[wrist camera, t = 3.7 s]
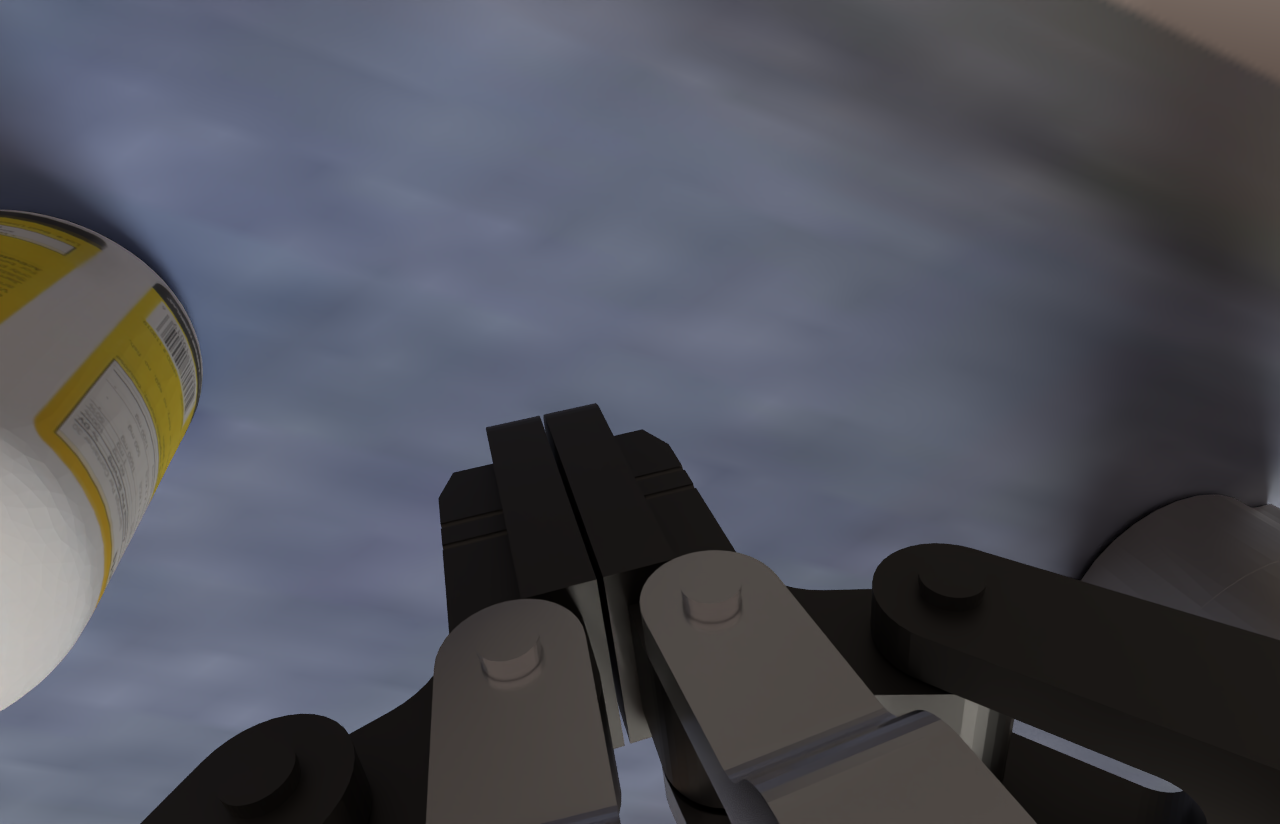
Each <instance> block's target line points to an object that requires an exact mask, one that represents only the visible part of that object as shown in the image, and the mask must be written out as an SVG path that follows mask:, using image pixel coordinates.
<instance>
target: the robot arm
mask: <svg viewBox="0 0 1280 824" xmlns="http://www.w3.org/2000/svg"><path fill="white" fill-rule="evenodd" d="M544 425H545V430H544V427H543V424H542V421H541V418H540V416H536V417H532V418H527V419H522V420H518V421H513V422H509V423H504V424H500V425H495V426H491V427H486V431H487V436H488V441H489V446H490V451H491V455H492V460H493V464H490V465H485V466H481V467H476V468H472V469H468V470H463V471H459V472H454V473H453V474H452V476H451V478H450V479H449V481H448V483H447V485H446V486H445V488H444V490H443V491H442V493H441V495H440V497H439V509H440V522H441V527H442V529H441V535H442V546H443V560H444V573H445V585H446V598H447V611H448V623H449V635H448V636H447V637H446V639H445V640H444V642H443V644H442V645H441V647H440V648H439V651H438V654H437V656H436V659H435V665H434V675H433V677H432V678H431V679H430V680H429V681H428V683H427V684H426V685H425V686H424V687H423V688H422V689H420V690H419V691H418V692H417V693H416V694H415V695H414V696H412V697H411V698H410V699H409V700H407V701H406V702H405V703H403V704H402V705H400V706H398V707H397V708H395V709H394V710H392V711H390V712H389V713H387V714H385V715H383V716H381V717H380V718H378V719H376V720H374V721H372V722H371V723H369V724H367V725H365V726H363V727H361V728H360V729H358V730H356V731H354V732H352V733H351V734H348V733H347V731H346V730H345V729H344V727H342V726H341V725H340V724H339V723H337V722H336V721H334V720H332V719H329V718H327V717H324V716H320V715H315V714H295V715H287V716H282V717H278V718H274V719H271V720H268V721H265V722H263V723H260V724H257V725H255V726H253V727H251V728H249V729H247V730H245V731H243V732H241V733H239V734H238V735H236V736H235V737H233V738H231V739H230V740H228V741H227V742H225V743H224V744H223V745H221V746H220V747H219V748H217V749H216V750H215V751H213V752H212V753H211V754H210V755H209V756H208V757H207V758H206V759H205V760H204V761H202V762H201V763H200V764H199V765H198V766H197V767H196V768H195V769H194V770H193V771H192V772H191V773H190V774H189V775H188V776H187V777H186V778H185V779H184V780H183V781H182V782H181V783H180V784H179V785H178V786H177V787H176V788H175V789H174V790H173V791H172V792H171V793H170V794H169V795H168V796H167V797H166V798H165V799H164V800H163V801H162V802H161V803H160V805H159V806H158V807H157V808H156V809H155V810H154V811H153V812H152V813H151V814H150V815H149V816H148V817H147V818H146V819H145V820H144V821H143V822H142V823H141V824H621V823H620V818H619V811H620V807H621V789H620V783H619V778H618V772H617V766H616V761H615V755H614V750H613V749H615V748H618V747H622V746H625V745H624V739H623V733H622V727H621V722H620V716H619V710H618V706H619V709H620V712H621V715H622V718H623V722H624V725H625V728H626V731H627V734H628V737H629V741H630V743H634V742H637V741H640V740H643V739H647V738H650V737H652V738H653V741H654V744H655V747H656V749H657V752H658V755H659V758H660V761H661V764H662V769H663V776H664V784H665V791H666V798H667V801H668V804H669V807H670V810H671V812H672V814H673V816H674V819H675V821H676V823H677V824H1280V509H1279V508H1277V507H1276V506H1274V505H1272V504H1268V505H1264V506H1260V507H1253V508H1251V507H1249V506H1247V505H1246V504H1244V503H1242V502H1240V501H1239V500H1237V499H1235V498H1233V497H1228V496H1223V495H1219V494H1214V495H1198V496H1194V497H1190V498H1186V499H1183V500H1179V501H1176V502H1174V503H1172V504H1169V505H1167V506H1165V507H1163V508H1160V509H1158V510H1156V511H1154V512H1153V513H1151V514H1149V515H1148V516H1146V517H1145V518H1143V519H1141V520H1140V521H1138V522H1137V523H1135V524H1134V525H1132V526H1131V527H1130V528H1129V529H1127V530H1126V531H1125V532H1124V533H1123V534H1121V535H1120V536H1119V537H1118V538H1117V539H1115V540H1114V541H1113V542H1112V543H1111V544H1110V545H1109V546H1108V547H1107V548H1106V549H1105V551H1104V552H1103V553H1102V554H1101V555H1100V556H1099V557H1098V558H1097V559H1096V560H1095V561H1094V563H1093V564H1092V566H1091V567H1090V568H1089V570H1088V571H1087V573H1086V574H1085V575H1084V577H1083V578H1082V579H1081V581H1080V580H1076V579H1073V578H1069V577H1066V576H1063V575H1059V574H1056V573H1053V572H1049V571H1046V570H1043V569H1039V568H1036V567H1033V566H1029V565H1026V564H1022V563H1019V562H1016V561H1012V560H1009V559H1006V558H1002V557H999V556H996V555H992V554H989V553H986V552H982V551H979V550H975V549H972V548H968V547H964V546H959V545H952V544H938V543H932V544H920V545H915V546H910V547H907V548H904V549H901V550H898V551H896V552H894V553H892V554H891V555H889V556H888V557H887V558H885V559H884V560H883V561H882V562H881V563H880V564H879V566H878V567H877V569H876V571H875V573H874V576H873V581H872V589H857V590H806V589H798V588H793V587H788V586H785V585H784V584H783V582H782V581H781V580H780V579H779V577H778V576H777V575H776V574H775V573H774V572H773V571H772V570H771V569H770V568H769V567H768V566H766V565H765V564H763V563H762V562H760V561H758V560H756V559H754V558H752V557H750V556H747V555H744V554H741V553H736V551H735V550H734V548H733V546H732V545H731V543H730V542H729V540H728V538H727V537H726V535H725V534H724V532H723V530H722V529H721V527H720V526H719V524H718V522H717V521H716V519H715V518H714V516H713V514H712V513H711V511H710V510H709V508H708V506H707V505H706V503H705V502H704V500H703V498H702V497H701V495H700V494H699V492H698V490H697V489H696V488H694V486H693V482H692V481H691V479H690V478H689V476H688V474H687V473H686V471H685V470H683V468H682V465H681V463H680V462H679V460H678V458H677V457H676V455H675V454H674V452H673V450H672V449H671V447H670V446H669V444H667V443H665V442H664V441H662V440H660V439H658V438H657V437H655V436H653V435H651V434H650V433H648V432H646V431H644V430H638V431H634V432H629V433H625V434H620V435H616V436H613V434H612V432H611V430H610V428H609V426H608V424H607V422H606V420H605V418H604V416H603V414H602V412H601V410H600V408H599V406H598V405H597V404H596V403H595V404H590V405H586V406H581V407H576V408H572V409H567V410H563V411H558V412H554V413H549V414H545V415H544ZM545 431H546V433H545ZM617 703H618V704H617ZM1014 719H1016V720H1019V721H1021V722H1024V723H1026V724H1028V725H1031V726H1033V727H1036V728H1038V729H1041V730H1043V731H1046V732H1048V733H1051V734H1053V735H1056V736H1058V737H1061V738H1063V739H1066V740H1068V741H1071V742H1073V743H1075V744H1078V745H1080V746H1083V747H1085V748H1088V749H1090V750H1093V751H1095V752H1098V753H1100V754H1103V755H1105V756H1108V757H1110V758H1113V759H1115V760H1118V761H1120V762H1122V763H1125V764H1127V765H1130V766H1132V767H1135V768H1137V769H1140V770H1142V771H1145V772H1147V773H1150V774H1152V775H1155V776H1157V777H1160V778H1162V779H1164V780H1166V781H1168V782H1170V783H1172V784H1174V785H1175V786H1177V787H1179V788H1180V789H1182V790H1183V791H1182V792H1175V793H1166V792H1159V791H1155V790H1151V789H1148V788H1146V787H1143V786H1141V785H1138V784H1136V783H1133V782H1131V781H1128V780H1126V779H1124V778H1121V777H1119V776H1116V775H1114V774H1112V773H1109V772H1107V771H1104V770H1102V769H1099V768H1097V767H1095V766H1092V765H1090V764H1087V763H1085V762H1083V761H1080V760H1078V759H1075V758H1073V757H1070V756H1068V755H1066V754H1063V753H1061V752H1058V751H1056V750H1054V749H1051V748H1049V747H1046V746H1044V745H1041V744H1039V743H1037V742H1034V741H1032V740H1029V739H1027V738H1025V737H1022V736H1020V735H1017V734H1015V733H1012V728H1013V722H1014Z"/></svg>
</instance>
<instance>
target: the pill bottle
mask: <svg viewBox="0 0 1280 824" xmlns="http://www.w3.org/2000/svg"><path fill="white" fill-rule="evenodd" d="M202 377H203V370H202V356H201V352H200V347H199V342H198V339H197V336H196V333H195V330H194V328H193V325H192V323H191V321H190V319H189V317H188V315H187V313H186V311H185V309H184V307H183V305H182V304H181V303H180V301H179V300H178V298H177V297H176V295H175V294H174V293H173V291H172V290H171V289H170V288H169V287H168V285H167V284H166V283H165V282H164V281H163V280H162V279H161V278H160V277H159V276H158V275H157V274H156V273H155V272H154V271H153V270H152V269H151V268H150V267H149V266H148V265H147V264H145V263H144V262H143V261H142V260H141V259H139V258H138V257H136V256H135V255H134V254H132V253H131V252H130V251H128V250H127V249H125V248H123V247H122V246H120V245H119V244H117V243H115V242H114V241H112V240H110V239H108V238H106V237H104V236H103V235H101V234H99V233H97V232H94V231H92V230H90V229H87V228H85V227H83V226H80V225H77V224H74V223H72V222H69V221H66V220H62V219H59V218H55V217H51V216H46V215H42V214H37V213H31V212H24V211H16V210H0V711H1V710H3V709H5V708H7V707H8V706H10V705H11V704H13V703H14V702H16V701H17V700H18V699H20V698H21V697H22V696H24V695H25V694H26V693H28V692H29V691H30V690H32V689H33V688H34V687H35V686H37V685H38V684H39V683H40V682H41V681H42V680H43V679H44V678H45V677H46V676H48V675H49V674H50V673H51V671H52V670H53V669H54V668H55V667H56V666H57V665H58V664H59V663H60V662H61V661H62V660H63V658H64V657H65V656H66V655H67V653H68V652H69V651H70V650H71V648H72V647H73V645H74V644H75V642H76V641H77V639H78V638H79V636H80V634H81V633H82V631H83V629H84V628H85V626H86V624H87V623H88V621H89V619H90V617H91V616H92V614H93V612H94V610H95V608H96V606H97V604H98V602H99V600H100V598H101V597H102V595H103V593H104V591H105V589H106V586H107V585H108V583H109V581H110V579H111V577H112V575H113V573H114V571H115V569H116V567H117V565H118V563H119V561H120V560H121V558H122V556H123V554H124V552H125V550H126V548H127V546H128V544H129V542H130V540H131V538H132V536H133V534H134V532H135V531H136V529H137V527H138V525H139V523H140V521H141V519H142V517H143V515H144V513H145V511H146V509H147V507H148V505H149V503H150V501H151V499H152V497H153V495H154V493H155V491H156V489H157V487H158V485H159V483H160V481H161V479H162V477H163V475H164V473H165V471H166V469H167V467H168V465H169V463H170V461H171V459H172V457H173V456H174V454H175V452H176V450H177V448H178V446H179V444H180V442H181V440H182V438H183V436H184V435H185V433H186V431H187V429H188V426H189V424H190V422H191V420H192V418H193V416H194V413H195V411H196V408H197V406H198V402H199V398H200V394H201V387H202Z"/></svg>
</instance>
